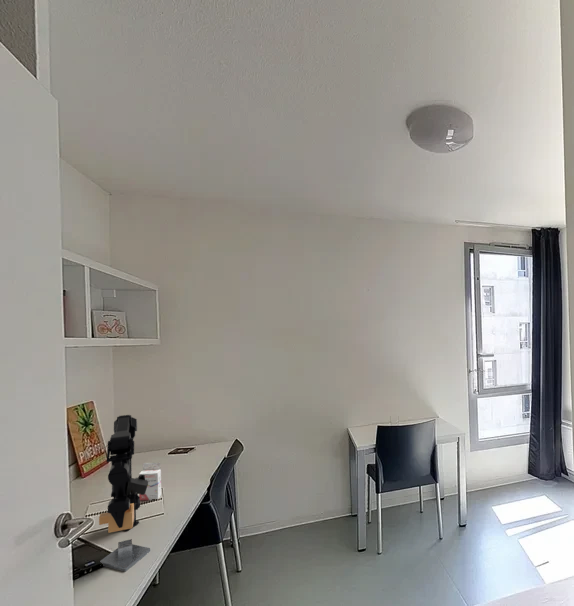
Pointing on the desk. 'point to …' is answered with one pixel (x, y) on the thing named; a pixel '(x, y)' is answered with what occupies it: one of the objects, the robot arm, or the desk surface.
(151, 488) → the ink cartridge box
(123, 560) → the grey plate with tab
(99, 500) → the desk surface
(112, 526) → the tan open-top box
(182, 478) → the desk surface
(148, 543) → the desk surface
